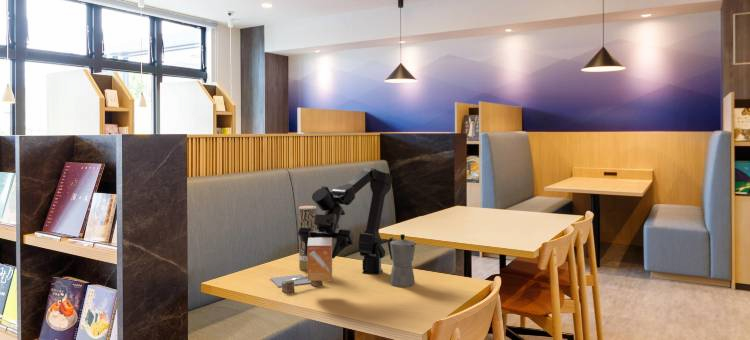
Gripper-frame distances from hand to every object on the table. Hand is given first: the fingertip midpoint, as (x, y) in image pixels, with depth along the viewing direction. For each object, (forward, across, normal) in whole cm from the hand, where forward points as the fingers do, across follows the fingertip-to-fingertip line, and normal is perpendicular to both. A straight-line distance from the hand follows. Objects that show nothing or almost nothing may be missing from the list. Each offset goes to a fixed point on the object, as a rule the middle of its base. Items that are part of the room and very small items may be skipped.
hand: (319, 257), depth 179 cm
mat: (0, -17, +19) cm, 26 cm away
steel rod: (+2, -9, +12) cm, 15 cm away
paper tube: (-12, -18, +32) cm, 39 cm away
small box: (+4, 0, +6) cm, 7 cm away
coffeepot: (-7, +22, +26) cm, 35 cm away
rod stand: (+5, -9, +14) cm, 18 cm away
